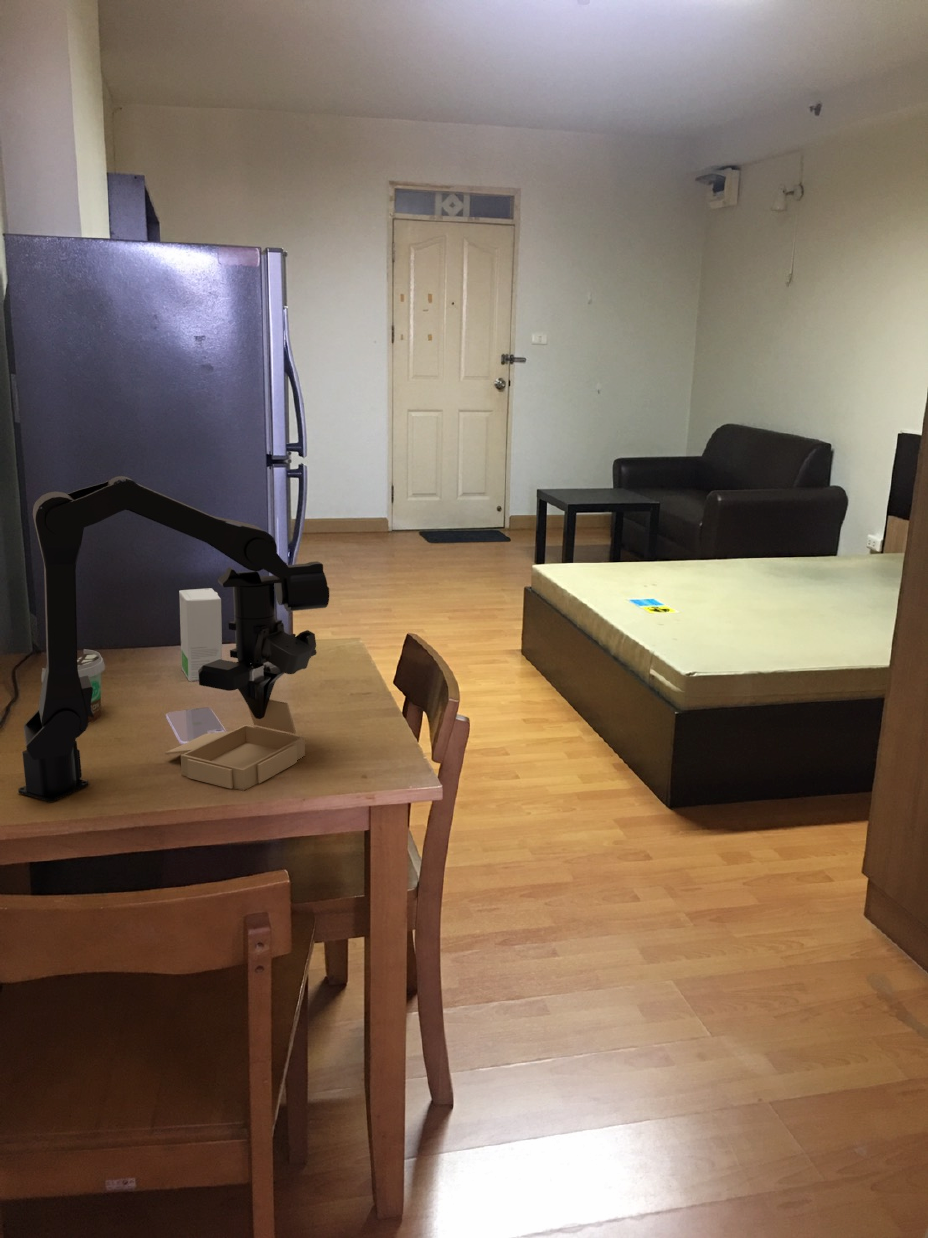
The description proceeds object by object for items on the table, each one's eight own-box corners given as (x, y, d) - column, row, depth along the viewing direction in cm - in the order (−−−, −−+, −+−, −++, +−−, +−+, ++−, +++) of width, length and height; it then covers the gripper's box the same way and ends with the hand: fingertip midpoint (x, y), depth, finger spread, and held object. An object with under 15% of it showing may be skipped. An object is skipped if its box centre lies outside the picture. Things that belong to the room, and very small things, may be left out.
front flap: (295, 733, 144) (286, 704, 141) (254, 724, 147) (244, 695, 144) (296, 732, 144) (287, 703, 141) (255, 723, 147) (245, 694, 144)
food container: (81, 733, 151) (75, 672, 149) (45, 730, 152) (40, 669, 150) (123, 708, 163) (119, 650, 160) (90, 705, 164) (85, 648, 162)
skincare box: (181, 669, 184) (177, 589, 180) (216, 666, 187) (212, 587, 183) (189, 682, 177) (184, 599, 173) (225, 678, 180) (221, 596, 176)
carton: (244, 793, 131) (243, 772, 130) (178, 776, 136) (177, 756, 135) (307, 757, 143) (307, 738, 143) (245, 743, 148) (245, 724, 148)
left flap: (192, 749, 138) (165, 752, 141) (193, 751, 138) (165, 754, 141) (232, 730, 145) (205, 733, 148) (232, 732, 145) (206, 735, 148)
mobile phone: (210, 705, 163) (230, 734, 150) (210, 710, 163) (231, 740, 150) (164, 711, 160) (180, 741, 147) (164, 716, 160) (180, 747, 147)
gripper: (258, 637, 126) (263, 749, 130) (339, 607, 142) (341, 708, 146) (192, 626, 131) (199, 734, 135) (278, 599, 147) (281, 696, 151)
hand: (259, 718), depth 141 cm, fingers closed
